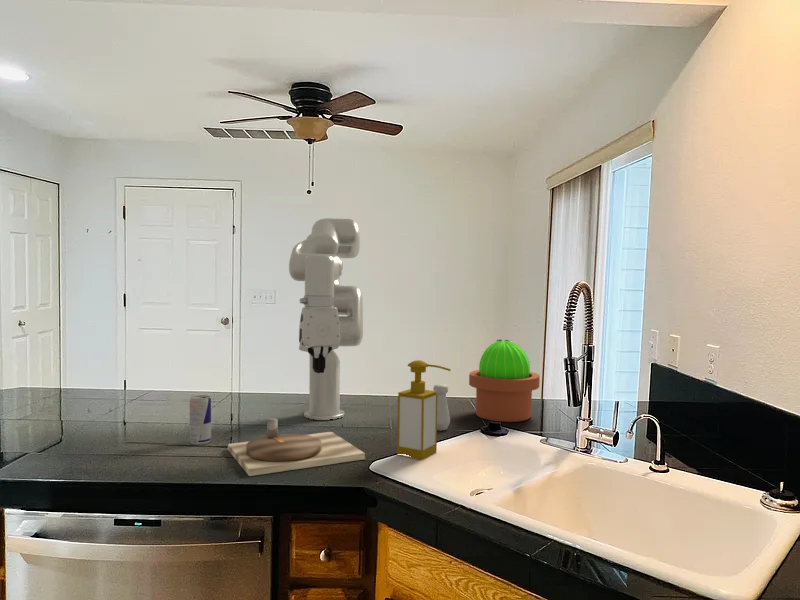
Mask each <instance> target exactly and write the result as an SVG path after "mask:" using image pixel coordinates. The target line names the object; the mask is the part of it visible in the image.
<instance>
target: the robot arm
mask: <svg viewBox="0 0 800 600" xmlns="http://www.w3.org/2000/svg"><path fill="white" fill-rule="evenodd" d="M360 237H361V234H360V228H359V225H358V224H357V222H356V221H355V220H353V219H352V218H331V217H329V218H328V217H327V218H321V219H318V220H317V221H315V222H314V223H313V226H312V227H311V233H310V234H309V235H307V237H306V239H304V240H302V241H300V242H298V243H297V244H296V245H294V247H292V250H291V253H290V259H289V262H288V270H289V271H288V272H289V276H290V277H291V278H292V279H293V280H294V281H298V282H304V295H303V297H300V298H299V303H300V304H302V305H303V306H304V307H302V308H301V312H300V317H299V328H298V341H299V342H298V343H299V347H298V350H299V351H301V352H307V353H308V355H309V379H308V380H309V382H308V383H309V384H308V385H309V386H308V388H309V392H308V393H309V395H308V396H309V397H308V399H309V400H308V401H309V403H308V404H309V405H308V406H309V408H308V409H307V410H305V411H304V412H303V416H304V418H305V419H308V418H309V420H313V419H314V420H315V421H331V420H330V419H333V420H337V418H339V419H341V417H342V418H344V416H345V411H344V410H342V409H341V408H340V403H341V402H340V399H341V398H340V396H341V395H340V393H341V392H340V390H341V387H340V386H341V385H340V383H341V381H340V380H341V362H340V357H339V356H338V355H337V353H336V352H335V351H334V350H337V349H339V347H357V346H360V344H361V343H362V341H363V336H364V335H363V334H364V321H363V320H364V318H363V317H364V307H363V305H364V304H363V294H362V291H361V289H360V288H359V287H358V286H354V285H340V283H341V282H340V281H341V276H342V275H343V261H342V260H341V259H354V258H356V257H358V255H359V252H360V248H361V246H360V244H361V241H360V240H361V238H360Z"/></svg>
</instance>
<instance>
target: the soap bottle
mask: <svg viewBox="0 0 800 600" xmlns="http://www.w3.org/2000/svg"><path fill="white" fill-rule="evenodd" d="M407 367H410V372H411V373H414V380H411V381H410V388H409V389H406V390H402V391H399V392H398V393H397V433H396V434H397V437H396V438H397V439H396V440H397V443H396V444H397V446H396V447H397V450H396V455H397V454H406V455H409V456H411V457H412V458H411V459H415V460H419V461H423V460H425V459H427V458H429V457H431V456H433V455H435V454H437V442H438V441H437V438H438V437H437V436H438V434H437V432H438V430H437V394H436V393H437V391H433V390H429V389H426V381H424V380H422V373H426V372H427V368H428V367H431V368H439V369H442V370H445V371H449V372H450V371H451V370H452V369H451V368H448V367H445V366H441V365H437V364H429V363H428V362H425V361H423V360H417V359H416V360H413V361H411V362H410V363H408V364H407Z"/></svg>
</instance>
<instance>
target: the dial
mask: <svg viewBox="0 0 800 600" xmlns="http://www.w3.org/2000/svg"><path fill="white" fill-rule="evenodd" d="M278 420H279V419H278V418H276V417H274V418H271V417H270V418H267V419H266V435H264V436H260V437H257V438H254V439H251V440H250V441H247V442H248V443H247V445H246V453H247V455H249V456H250V457H252V458H255V459H260V460H266V461H291V460H299V459H304V458H308V457H311V456H314V455H316V454H318V453H319V452H320V451H321V449H322V442H321V440H320V439H318V438H316V437H313V436H309V435H308V434H300V433H280V434H278V432H279V430H278V426H279V425H278V424H279V423H278Z"/></svg>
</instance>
